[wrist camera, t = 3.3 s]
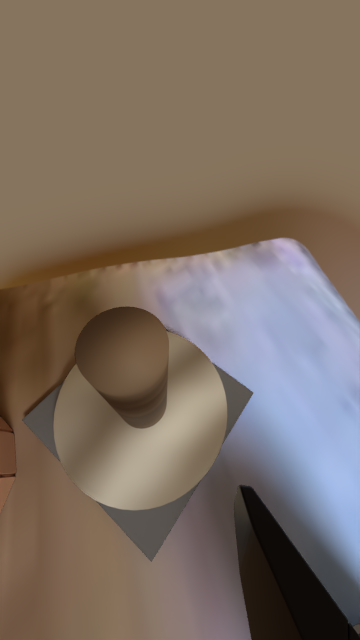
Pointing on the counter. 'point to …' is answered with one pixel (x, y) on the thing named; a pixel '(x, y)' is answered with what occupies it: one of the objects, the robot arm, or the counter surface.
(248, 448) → the counter surface
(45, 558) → the counter surface
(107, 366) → the lid
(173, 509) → the mat
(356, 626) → the soda can
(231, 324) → the counter surface
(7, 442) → the bowl
